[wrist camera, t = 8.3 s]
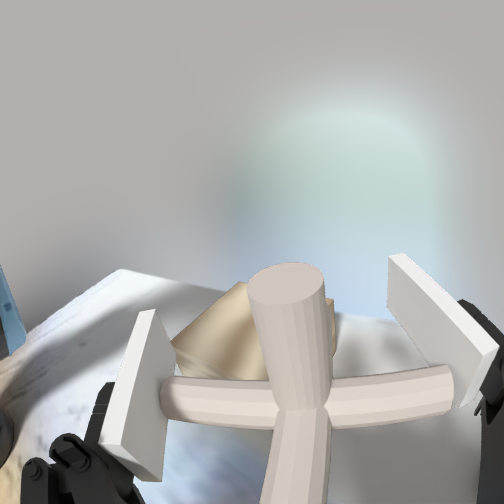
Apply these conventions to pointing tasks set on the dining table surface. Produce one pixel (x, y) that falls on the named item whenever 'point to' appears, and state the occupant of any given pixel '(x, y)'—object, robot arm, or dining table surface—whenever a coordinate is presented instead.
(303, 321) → the pipe connector
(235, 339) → the birch block
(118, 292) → the dining table surface
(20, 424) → the dining table surface
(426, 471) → the dining table surface
